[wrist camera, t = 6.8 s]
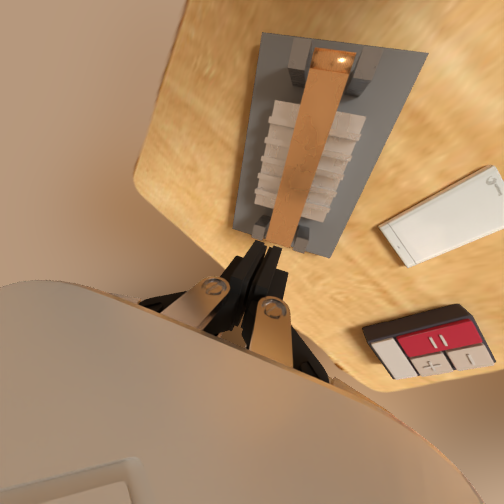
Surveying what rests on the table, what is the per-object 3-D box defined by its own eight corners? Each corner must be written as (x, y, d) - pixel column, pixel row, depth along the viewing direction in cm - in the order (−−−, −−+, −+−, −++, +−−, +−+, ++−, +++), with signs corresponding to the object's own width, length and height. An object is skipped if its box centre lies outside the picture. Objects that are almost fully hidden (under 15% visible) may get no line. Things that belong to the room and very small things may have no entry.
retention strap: (315, 52, 18) (315, 43, 16) (354, 57, 17) (358, 48, 16) (267, 237, 27) (264, 241, 26) (290, 244, 27) (289, 249, 26)
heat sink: (287, 61, 21) (280, 35, 17) (379, 74, 19) (399, 50, 15) (253, 223, 31) (243, 234, 27) (312, 241, 29) (312, 256, 25)
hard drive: (496, 164, 21) (380, 228, 27) (525, 221, 22) (408, 269, 28) (484, 164, 22) (376, 225, 28) (512, 217, 23) (404, 264, 30)
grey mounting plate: (266, 41, 22) (262, 32, 21) (418, 62, 20) (428, 53, 18) (236, 225, 34) (232, 228, 33) (328, 252, 32) (329, 258, 30)
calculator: (502, 368, 29) (395, 384, 35) (479, 344, 32) (386, 362, 39) (476, 318, 26) (367, 345, 33) (454, 298, 30) (360, 326, 37)
